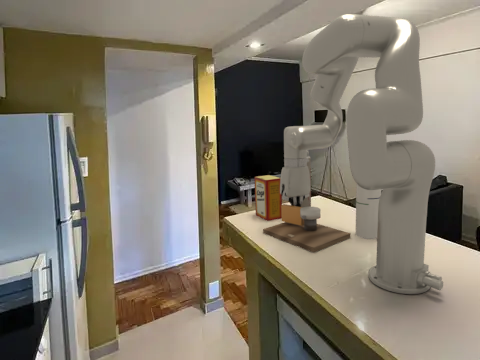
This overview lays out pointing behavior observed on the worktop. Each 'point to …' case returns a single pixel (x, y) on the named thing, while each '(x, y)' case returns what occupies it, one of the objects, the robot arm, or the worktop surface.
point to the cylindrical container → (367, 212)
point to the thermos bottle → (308, 200)
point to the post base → (307, 235)
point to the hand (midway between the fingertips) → (296, 214)
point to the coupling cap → (299, 214)
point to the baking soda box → (268, 197)
